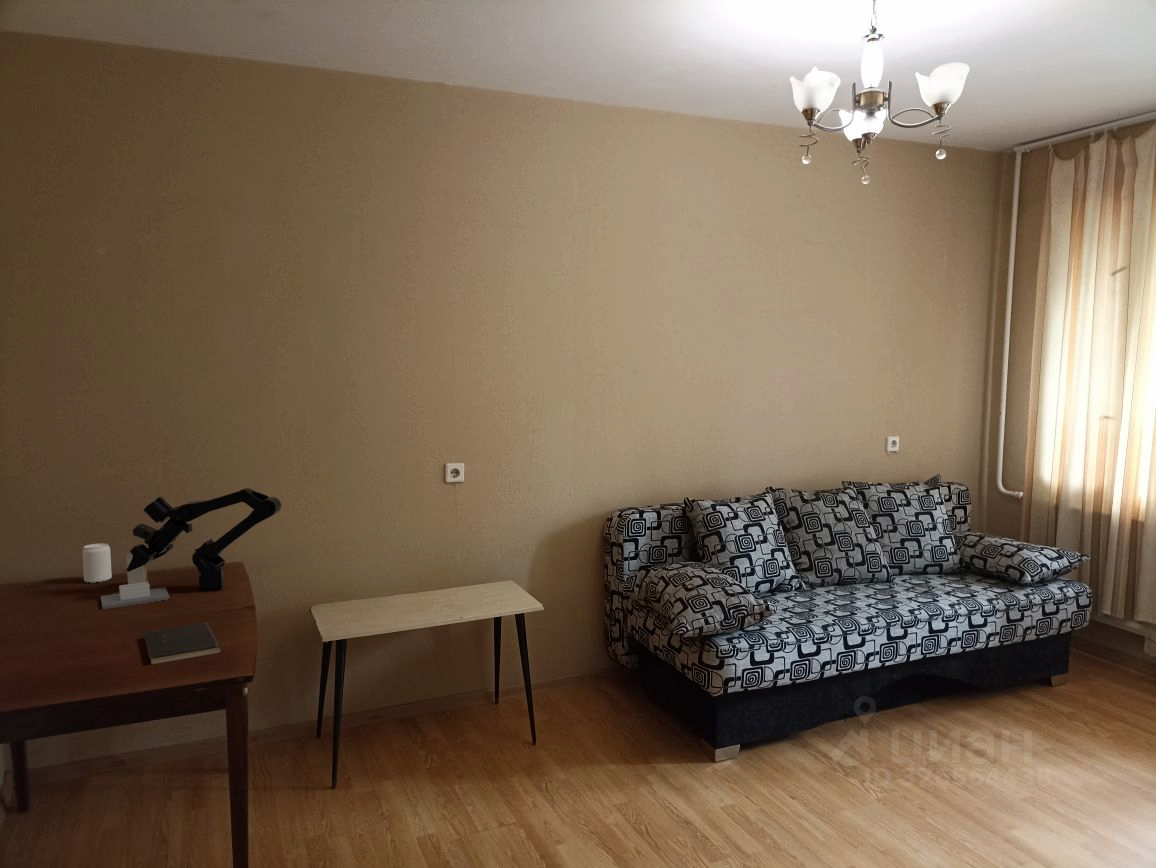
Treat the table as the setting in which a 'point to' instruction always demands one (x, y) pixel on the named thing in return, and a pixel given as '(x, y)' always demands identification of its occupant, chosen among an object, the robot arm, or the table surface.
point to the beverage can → (96, 563)
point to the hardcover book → (181, 643)
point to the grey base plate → (134, 595)
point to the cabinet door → (136, 572)
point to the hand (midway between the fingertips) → (134, 567)
